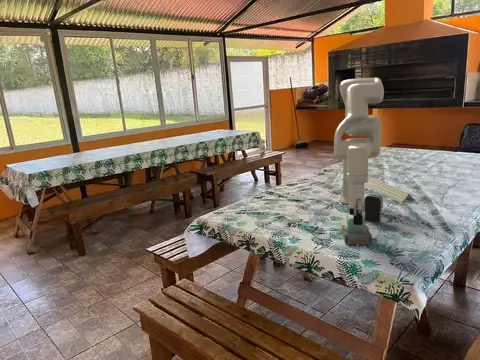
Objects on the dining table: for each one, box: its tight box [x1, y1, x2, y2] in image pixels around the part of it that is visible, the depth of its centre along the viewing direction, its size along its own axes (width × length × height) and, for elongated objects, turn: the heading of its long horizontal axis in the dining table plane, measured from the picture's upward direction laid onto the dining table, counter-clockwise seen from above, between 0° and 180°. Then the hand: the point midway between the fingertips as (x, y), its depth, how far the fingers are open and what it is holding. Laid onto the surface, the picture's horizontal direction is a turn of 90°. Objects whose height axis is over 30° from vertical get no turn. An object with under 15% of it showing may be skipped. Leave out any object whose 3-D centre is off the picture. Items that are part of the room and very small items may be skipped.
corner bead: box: [364, 177, 416, 204], centre depth 186 cm, size 31×9×5 cm, turn 14°
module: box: [346, 215, 366, 234], centre depth 138 cm, size 4×6×7 cm
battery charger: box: [364, 193, 384, 223], centre depth 151 cm, size 7×4×11 cm, turn 49°
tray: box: [341, 224, 373, 245], centre depth 137 cm, size 10×10×4 cm
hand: (355, 219), depth 138 cm, fingers open, 9 cm apart
